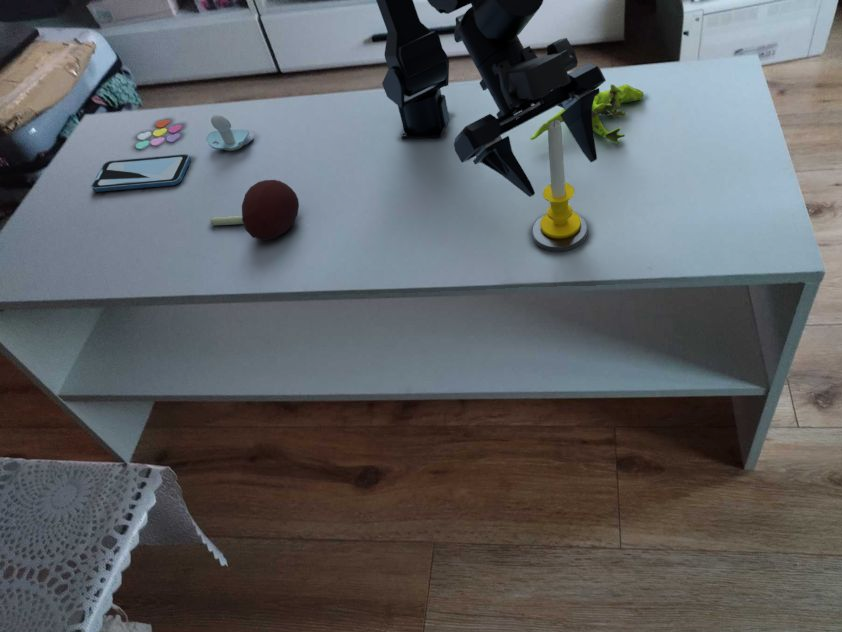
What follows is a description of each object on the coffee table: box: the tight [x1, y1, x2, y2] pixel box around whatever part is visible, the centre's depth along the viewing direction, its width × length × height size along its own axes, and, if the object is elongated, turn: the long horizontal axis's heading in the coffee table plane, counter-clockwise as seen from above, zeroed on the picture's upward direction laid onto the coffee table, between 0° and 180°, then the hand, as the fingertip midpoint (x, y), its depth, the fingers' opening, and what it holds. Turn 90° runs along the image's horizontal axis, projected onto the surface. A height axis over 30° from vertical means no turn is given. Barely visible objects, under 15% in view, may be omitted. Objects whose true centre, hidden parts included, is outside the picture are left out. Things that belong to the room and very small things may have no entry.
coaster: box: [531, 213, 588, 253], centre depth 91 cm, size 7×7×1 cm
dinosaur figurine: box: [529, 83, 644, 145], centre depth 101 cm, size 20×10×6 cm, turn 133°
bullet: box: [210, 215, 244, 227], centre depth 102 cm, size 1×1×8 cm
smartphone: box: [90, 153, 192, 193], centre depth 114 cm, size 7×1×15 cm
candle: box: [540, 120, 581, 239], centre depth 85 cm, size 5×5×16 cm
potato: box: [241, 179, 300, 241], centre depth 98 cm, size 8×9×6 cm
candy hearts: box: [134, 119, 183, 151], centre depth 122 cm, size 8×8×1 cm
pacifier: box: [205, 114, 255, 152], centre depth 114 cm, size 7×6×6 cm
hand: (563, 178), depth 83 cm, fingers open, 9 cm apart
